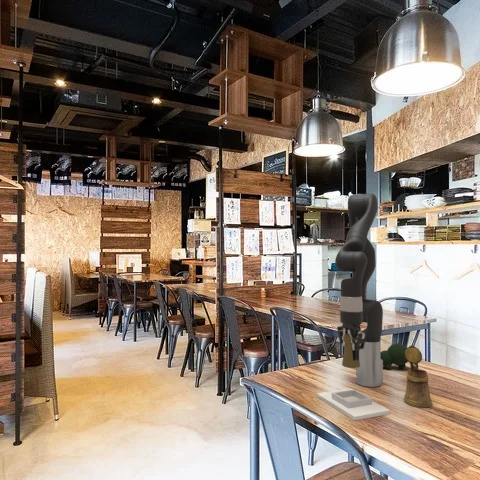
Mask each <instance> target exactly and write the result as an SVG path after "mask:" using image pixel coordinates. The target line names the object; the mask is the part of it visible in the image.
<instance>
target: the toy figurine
mask: <svg viewBox="0 0 480 480" xmlns="http://www.w3.org/2000/svg"><path fill="white" fill-rule="evenodd" d="M365 329H366V328H364V329H363V330H365ZM407 348H408V347H407V346H406V345H404V344H402V343H400V342H399V343H398V342H397V343H396V342H395V343H393V344H391V345H389V346H388V348H387V349H385V350H382V351H381V359H382V360H383V367H385V368H386V369H387V370H390V369H392V366H393V365H396V366H398V369H400V370H406V368H407V363H409V362H408V361H407V360H406V359H405V354H404V353H405V350H406V349H407Z"/></svg>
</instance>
